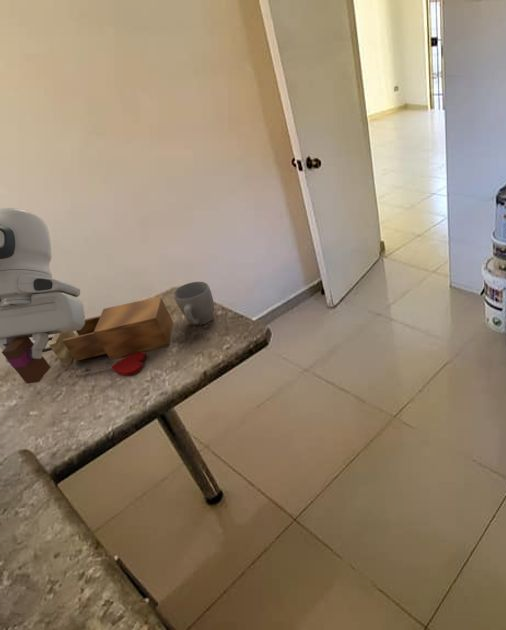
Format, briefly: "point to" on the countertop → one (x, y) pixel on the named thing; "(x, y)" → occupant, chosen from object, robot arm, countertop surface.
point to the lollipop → (126, 365)
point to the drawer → (76, 343)
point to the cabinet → (134, 327)
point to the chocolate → (25, 360)
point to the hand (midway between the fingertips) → (24, 360)
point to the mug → (195, 302)
